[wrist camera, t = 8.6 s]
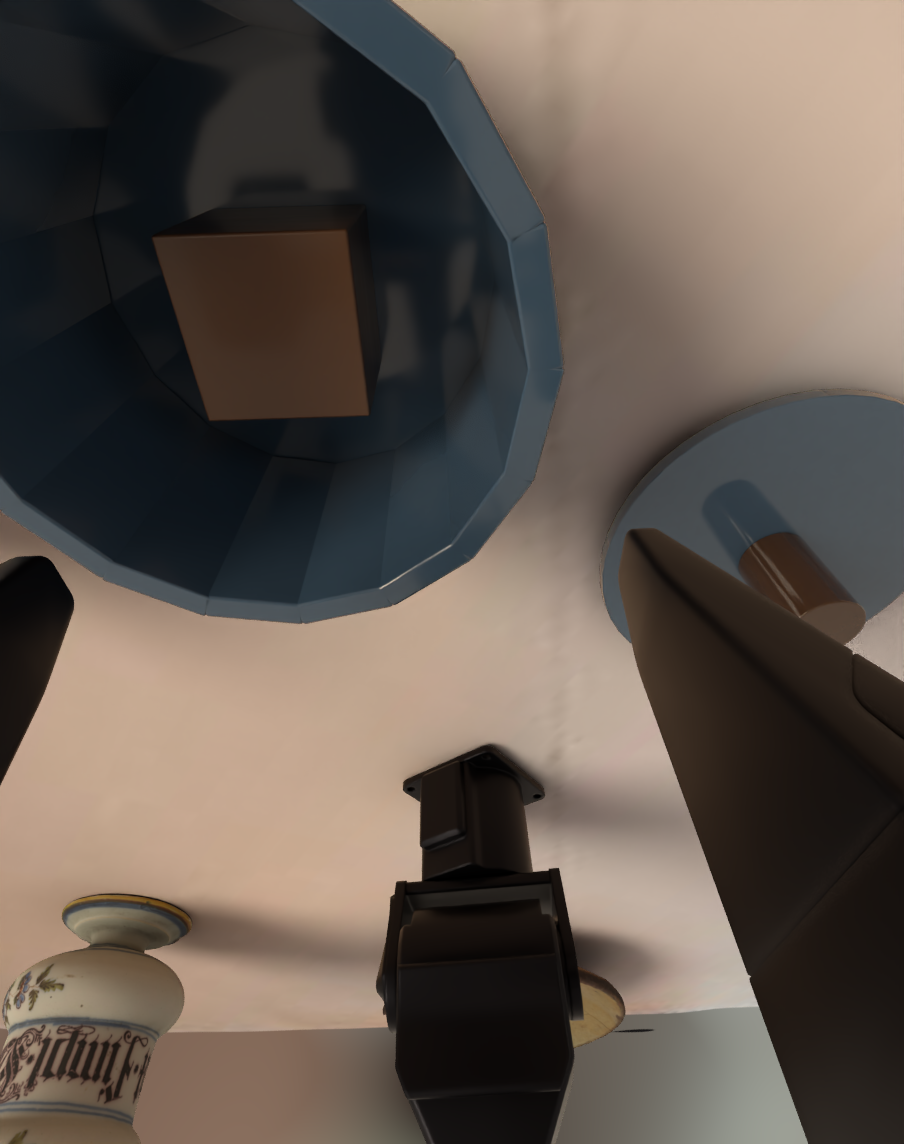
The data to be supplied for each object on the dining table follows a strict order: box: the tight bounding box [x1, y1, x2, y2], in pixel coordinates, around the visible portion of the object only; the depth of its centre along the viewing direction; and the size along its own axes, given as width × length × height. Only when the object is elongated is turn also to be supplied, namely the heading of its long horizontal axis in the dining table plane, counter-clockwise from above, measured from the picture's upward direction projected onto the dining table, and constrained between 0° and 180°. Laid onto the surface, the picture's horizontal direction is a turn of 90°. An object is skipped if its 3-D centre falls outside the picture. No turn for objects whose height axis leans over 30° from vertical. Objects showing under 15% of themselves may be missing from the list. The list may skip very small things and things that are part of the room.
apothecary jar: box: [0, 895, 192, 1144], centre depth 39 cm, size 12×12×18 cm
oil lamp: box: [383, 967, 625, 1048], centre depth 52 cm, size 22×30×8 cm
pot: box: [0, 0, 564, 624], centre depth 14 cm, size 12×12×8 cm
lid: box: [600, 389, 904, 645], centre depth 21 cm, size 13×13×5 cm
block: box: [152, 205, 381, 421], centre depth 15 cm, size 4×4×4 cm
